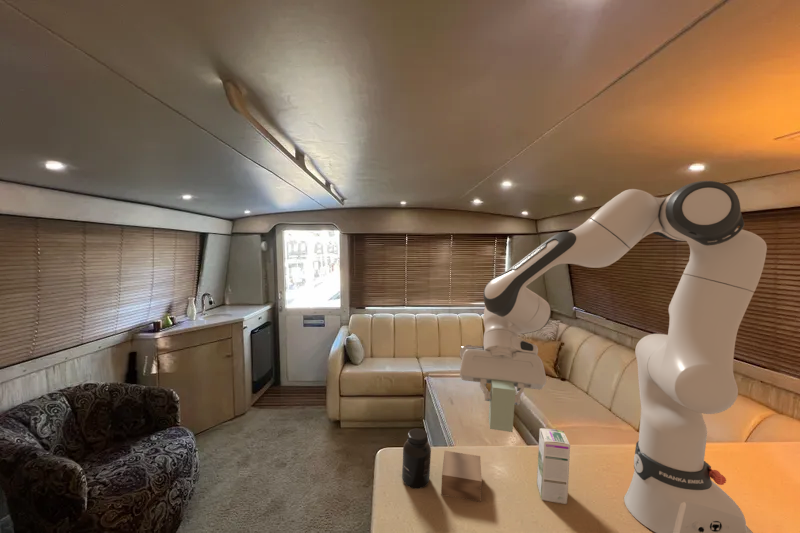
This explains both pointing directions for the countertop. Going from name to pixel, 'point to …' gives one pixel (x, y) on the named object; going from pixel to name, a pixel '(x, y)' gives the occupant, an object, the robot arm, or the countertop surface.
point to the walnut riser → (461, 476)
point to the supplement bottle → (416, 459)
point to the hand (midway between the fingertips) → (502, 402)
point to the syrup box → (553, 465)
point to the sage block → (502, 405)
